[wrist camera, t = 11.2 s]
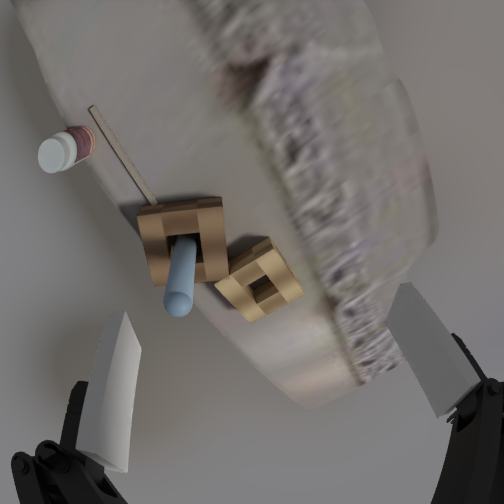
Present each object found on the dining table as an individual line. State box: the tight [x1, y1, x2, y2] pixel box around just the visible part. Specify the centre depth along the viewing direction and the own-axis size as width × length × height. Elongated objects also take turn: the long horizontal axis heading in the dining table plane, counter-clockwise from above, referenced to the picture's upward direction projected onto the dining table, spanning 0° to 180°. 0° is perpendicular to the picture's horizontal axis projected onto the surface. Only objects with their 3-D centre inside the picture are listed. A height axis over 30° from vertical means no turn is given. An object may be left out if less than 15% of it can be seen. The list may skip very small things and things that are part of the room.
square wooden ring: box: [137, 197, 229, 286], centre depth 37 cm, size 11×11×4 cm
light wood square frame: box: [214, 237, 305, 323], centre depth 42 cm, size 10×10×4 cm
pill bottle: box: [38, 126, 95, 173], centre depth 26 cm, size 5×5×8 cm
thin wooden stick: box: [90, 105, 158, 206], centre depth 31 cm, size 16×1×1 cm, turn 27°
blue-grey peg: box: [163, 233, 197, 317], centre depth 32 cm, size 3×3×16 cm
